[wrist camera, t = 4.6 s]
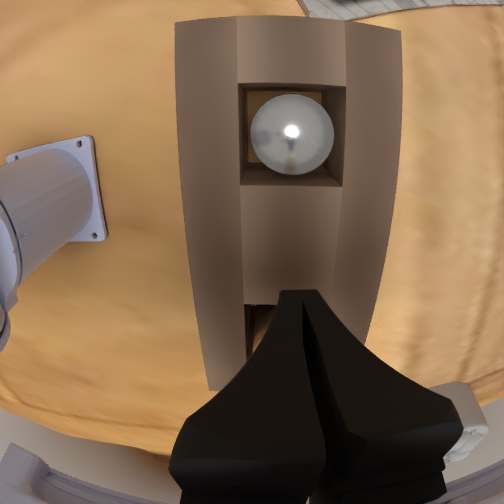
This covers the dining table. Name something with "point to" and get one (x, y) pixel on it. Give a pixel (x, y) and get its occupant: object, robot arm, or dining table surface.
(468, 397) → the lumpy-topped squat cylinder
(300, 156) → the grey metal peg
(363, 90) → the walnut block
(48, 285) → the dining table surface
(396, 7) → the packaged product
